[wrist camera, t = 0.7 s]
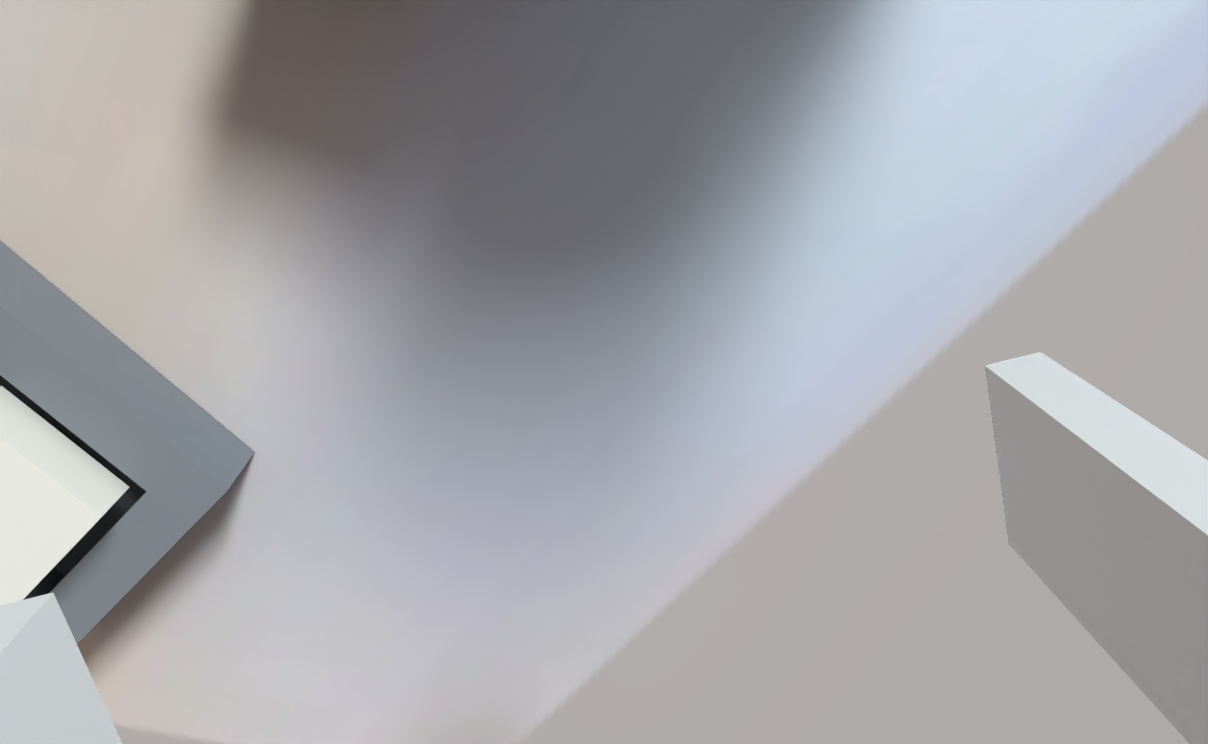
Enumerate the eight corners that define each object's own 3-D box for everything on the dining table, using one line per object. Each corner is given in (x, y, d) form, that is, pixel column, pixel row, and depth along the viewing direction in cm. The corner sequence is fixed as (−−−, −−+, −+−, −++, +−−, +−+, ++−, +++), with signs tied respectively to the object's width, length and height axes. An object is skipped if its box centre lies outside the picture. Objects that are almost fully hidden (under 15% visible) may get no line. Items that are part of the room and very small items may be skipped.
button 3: (-93, 490, 36) (-136, 520, 34) (1, 385, 35) (-37, 409, 33) (35, 585, 37) (2, 621, 35) (129, 487, 36) (101, 517, 34)
